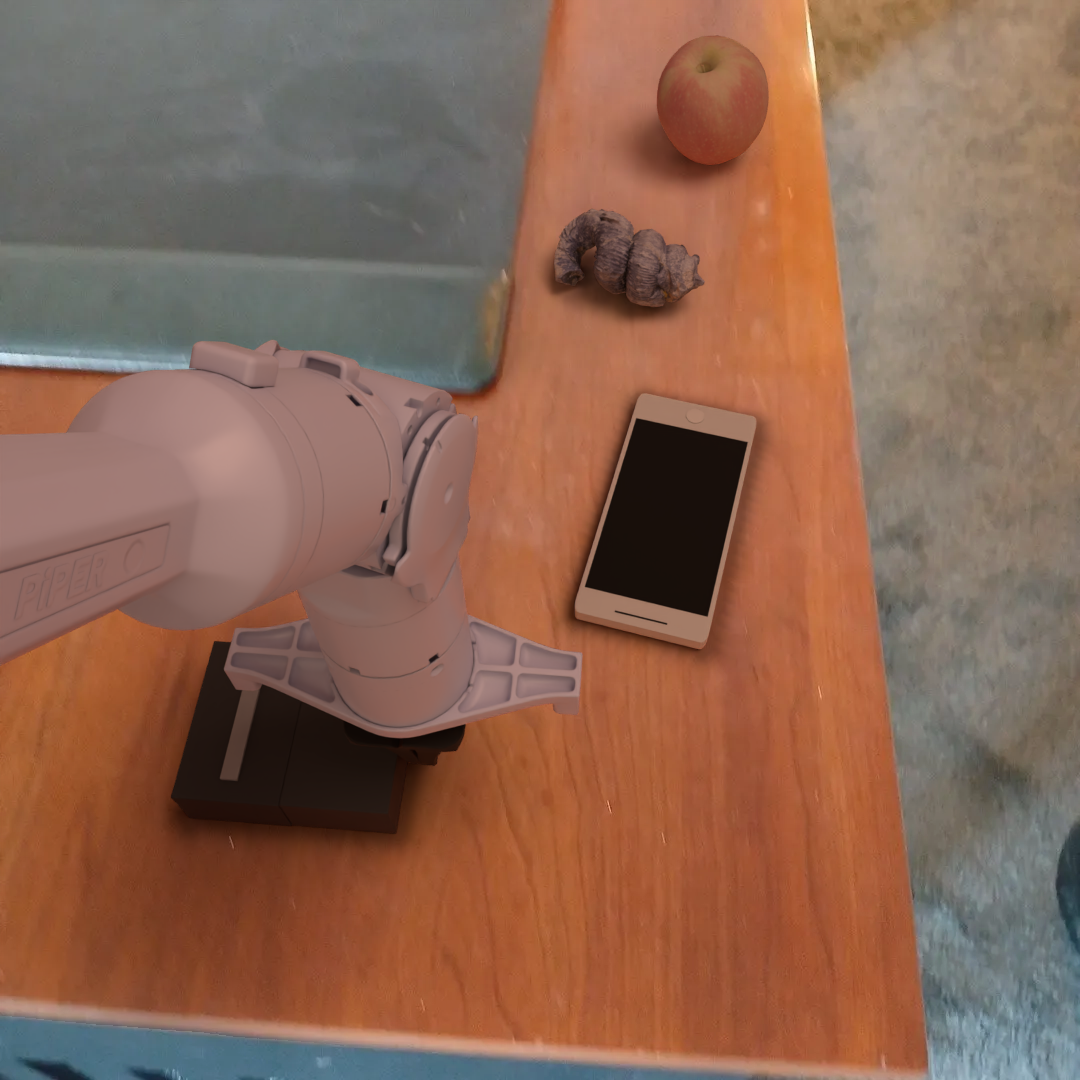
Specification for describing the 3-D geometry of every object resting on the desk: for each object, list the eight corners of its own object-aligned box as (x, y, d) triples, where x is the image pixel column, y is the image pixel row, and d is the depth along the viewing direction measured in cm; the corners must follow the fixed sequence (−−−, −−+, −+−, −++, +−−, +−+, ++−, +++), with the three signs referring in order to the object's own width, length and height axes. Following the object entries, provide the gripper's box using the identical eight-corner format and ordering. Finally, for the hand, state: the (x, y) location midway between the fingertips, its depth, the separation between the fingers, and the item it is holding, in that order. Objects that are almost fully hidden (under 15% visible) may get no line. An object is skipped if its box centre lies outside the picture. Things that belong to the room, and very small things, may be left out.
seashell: (552, 285, 71) (695, 327, 69) (535, 271, 66) (689, 315, 64) (576, 207, 70) (721, 247, 69) (561, 186, 65) (717, 229, 63)
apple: (650, 117, 79) (659, 14, 72) (753, 118, 78) (772, 14, 72) (653, 188, 74) (663, 85, 68) (762, 189, 74) (783, 86, 67)
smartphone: (756, 425, 63) (758, 415, 62) (704, 651, 55) (707, 643, 54) (638, 400, 64) (639, 390, 63) (571, 618, 56) (571, 609, 55)
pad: (396, 834, 50) (387, 814, 47) (292, 825, 50) (278, 805, 48) (420, 679, 54) (414, 653, 52) (324, 672, 55) (313, 646, 52)
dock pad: (292, 826, 50) (277, 804, 48) (189, 818, 50) (168, 796, 48) (324, 673, 54) (312, 645, 52) (229, 666, 55) (212, 638, 52)
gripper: (590, 531, 41) (582, 680, 53) (224, 507, 42) (295, 659, 53) (578, 699, 37) (572, 819, 49) (176, 669, 38) (264, 794, 50)
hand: (426, 745), depth 51 cm, fingers closed, pressing on pad
